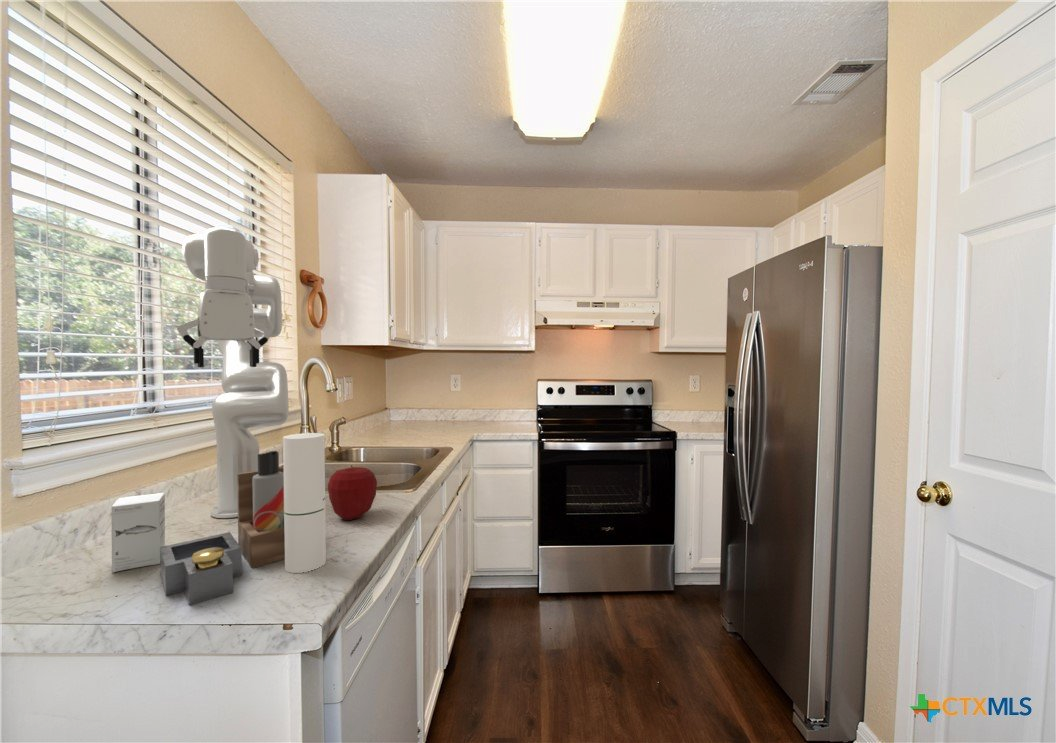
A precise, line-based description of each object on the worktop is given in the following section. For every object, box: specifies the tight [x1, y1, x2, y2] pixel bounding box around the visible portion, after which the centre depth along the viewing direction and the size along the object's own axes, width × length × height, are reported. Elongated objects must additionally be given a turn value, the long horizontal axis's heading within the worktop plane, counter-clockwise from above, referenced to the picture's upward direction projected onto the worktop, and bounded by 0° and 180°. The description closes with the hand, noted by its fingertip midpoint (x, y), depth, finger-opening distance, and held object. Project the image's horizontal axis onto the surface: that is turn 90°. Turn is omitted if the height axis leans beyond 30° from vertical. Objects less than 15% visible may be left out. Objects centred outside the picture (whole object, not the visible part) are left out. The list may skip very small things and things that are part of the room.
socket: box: [159, 531, 243, 606], centre depth 82 cm, size 18×11×5 cm, turn 43°
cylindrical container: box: [282, 432, 327, 574], centre depth 88 cm, size 7×7×25 cm
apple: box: [327, 464, 378, 521], centre depth 115 cm, size 12×12×13 cm
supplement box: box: [110, 492, 166, 574], centre depth 90 cm, size 7×7×13 cm
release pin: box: [192, 547, 224, 569], centre depth 77 cm, size 4×4×6 cm
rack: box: [237, 466, 285, 569], centre depth 95 cm, size 12×11×16 cm
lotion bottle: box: [253, 450, 284, 533], centre depth 94 cm, size 6×6×20 cm
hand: (227, 367), depth 98 cm, fingers open, 9 cm apart
